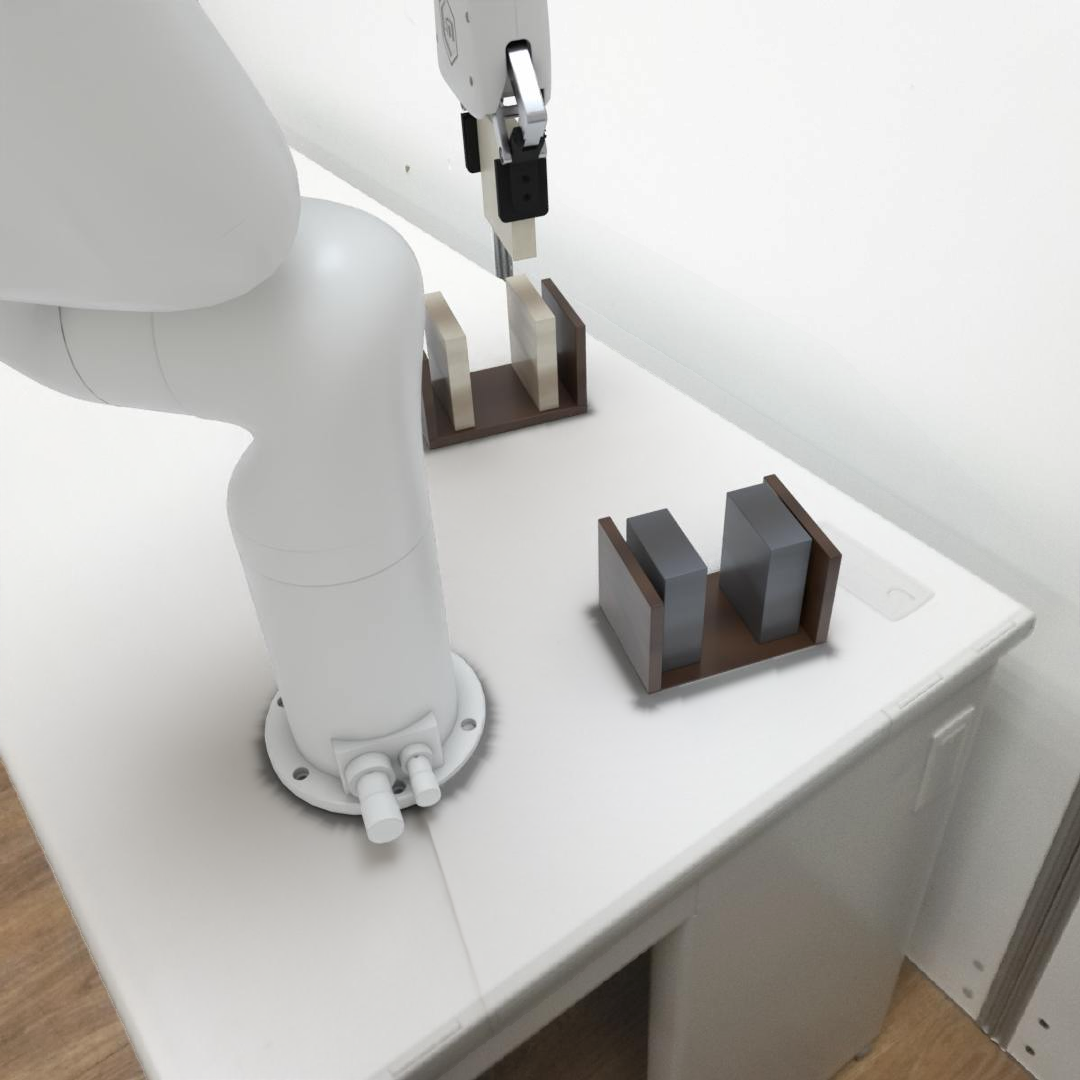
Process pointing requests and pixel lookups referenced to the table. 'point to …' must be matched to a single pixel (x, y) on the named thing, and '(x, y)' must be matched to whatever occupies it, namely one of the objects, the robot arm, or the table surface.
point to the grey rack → (717, 588)
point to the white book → (513, 234)
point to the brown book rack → (503, 368)
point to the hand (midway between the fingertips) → (505, 190)
